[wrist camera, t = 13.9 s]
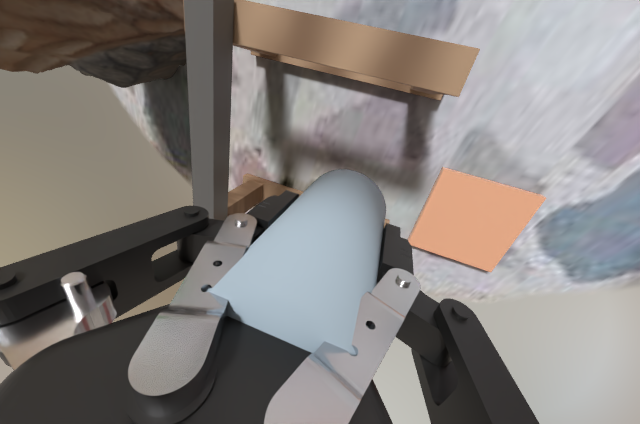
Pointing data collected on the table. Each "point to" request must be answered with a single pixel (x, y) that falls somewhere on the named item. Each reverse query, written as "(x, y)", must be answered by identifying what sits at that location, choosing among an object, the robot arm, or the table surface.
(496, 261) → the terracotta tile
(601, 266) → the table surface
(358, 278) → the grey-blue cylinder
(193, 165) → the bar
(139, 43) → the brown pointed rock
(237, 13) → the gantry
